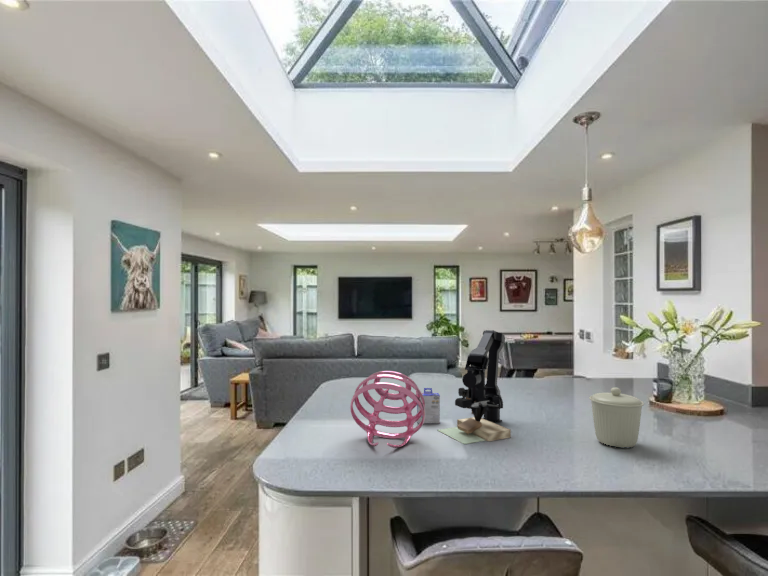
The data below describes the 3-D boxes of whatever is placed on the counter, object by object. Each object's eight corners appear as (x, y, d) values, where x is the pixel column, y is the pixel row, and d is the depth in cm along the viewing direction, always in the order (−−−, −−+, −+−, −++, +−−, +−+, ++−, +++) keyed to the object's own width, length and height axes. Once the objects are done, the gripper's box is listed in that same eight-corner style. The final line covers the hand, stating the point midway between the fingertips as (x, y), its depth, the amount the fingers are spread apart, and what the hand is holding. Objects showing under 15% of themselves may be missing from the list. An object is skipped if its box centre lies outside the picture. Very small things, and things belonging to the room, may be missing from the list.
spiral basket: (405, 405, 134) (413, 349, 157) (329, 418, 144) (347, 363, 166) (433, 460, 147) (437, 401, 170) (361, 468, 156) (374, 411, 179)
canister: (624, 455, 146) (624, 394, 147) (579, 440, 162) (578, 385, 163) (655, 447, 154) (654, 390, 155) (609, 433, 170) (608, 381, 171)
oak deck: (478, 423, 182) (478, 416, 182) (510, 437, 164) (510, 429, 164) (457, 426, 178) (457, 419, 178) (488, 441, 160) (488, 433, 160)
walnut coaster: (471, 421, 173) (470, 418, 172) (482, 426, 166) (481, 422, 166) (458, 428, 170) (457, 425, 169) (468, 433, 163) (467, 430, 163)
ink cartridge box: (438, 420, 187) (438, 387, 187) (440, 423, 181) (440, 390, 182) (416, 420, 187) (416, 387, 187) (417, 423, 181) (417, 390, 182)
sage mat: (457, 427, 176) (457, 426, 176) (485, 440, 160) (485, 439, 160) (437, 430, 172) (437, 429, 172) (464, 444, 156) (464, 443, 156)
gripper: (483, 378, 182) (483, 415, 181) (447, 381, 173) (447, 420, 173) (500, 383, 172) (500, 421, 171) (463, 387, 163) (463, 427, 163)
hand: (477, 422), depth 170 cm, fingers closed
